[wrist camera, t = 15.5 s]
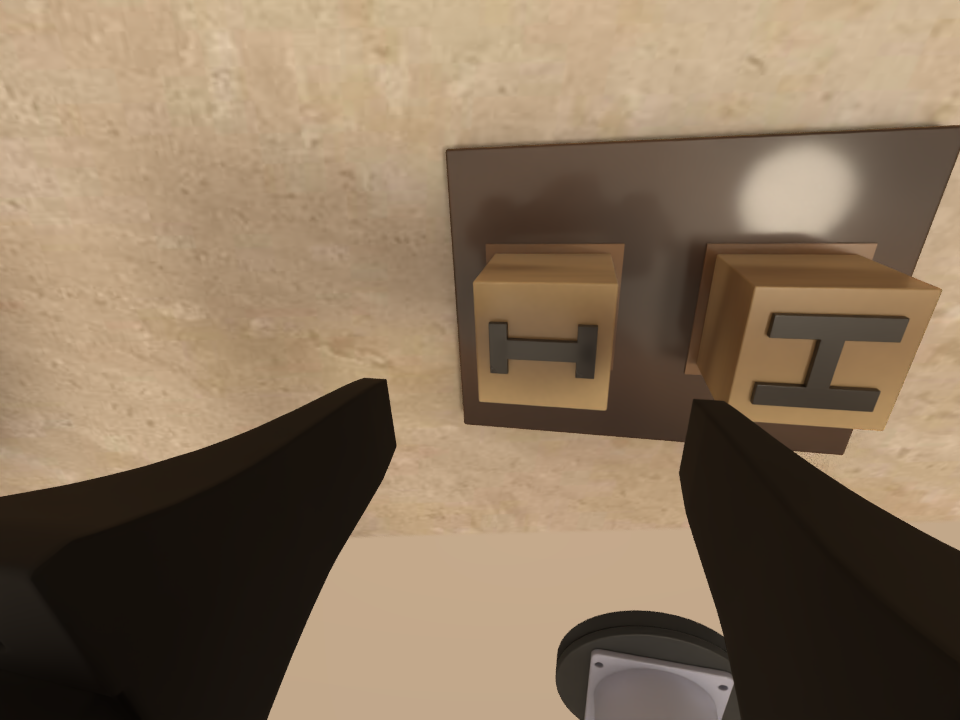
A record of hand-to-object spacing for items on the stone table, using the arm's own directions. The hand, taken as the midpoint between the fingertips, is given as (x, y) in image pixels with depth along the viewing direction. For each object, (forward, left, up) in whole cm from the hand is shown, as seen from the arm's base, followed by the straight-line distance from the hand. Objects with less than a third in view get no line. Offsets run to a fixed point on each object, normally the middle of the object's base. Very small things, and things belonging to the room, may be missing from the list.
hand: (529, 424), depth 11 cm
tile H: (0, -8, -8) cm, 12 cm away
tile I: (0, 0, -8) cm, 8 cm away
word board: (0, -4, -9) cm, 10 cm away
